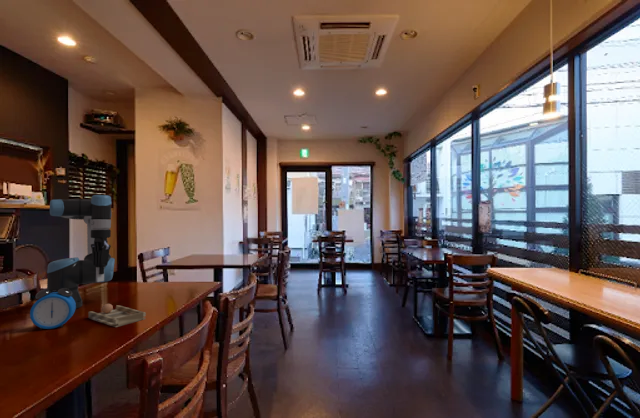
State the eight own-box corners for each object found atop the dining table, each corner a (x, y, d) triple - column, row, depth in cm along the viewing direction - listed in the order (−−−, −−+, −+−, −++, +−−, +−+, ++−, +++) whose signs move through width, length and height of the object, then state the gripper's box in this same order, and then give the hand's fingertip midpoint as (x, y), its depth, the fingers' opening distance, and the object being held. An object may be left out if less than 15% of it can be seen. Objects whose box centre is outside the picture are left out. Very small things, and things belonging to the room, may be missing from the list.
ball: (100, 313, 140) (100, 304, 140) (109, 311, 144) (110, 302, 144) (104, 314, 138) (104, 305, 138) (114, 312, 142) (114, 303, 142)
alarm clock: (28, 332, 121) (29, 292, 121) (35, 327, 126) (36, 288, 127) (71, 327, 126) (72, 288, 127) (75, 322, 132) (76, 285, 132)
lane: (88, 318, 137) (88, 311, 138) (118, 311, 148) (118, 304, 148) (115, 327, 126) (115, 319, 126) (145, 319, 136) (145, 311, 136)
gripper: (84, 229, 146) (83, 281, 145) (98, 229, 139) (98, 284, 138) (102, 228, 152) (101, 278, 151) (117, 229, 145) (116, 281, 145)
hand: (99, 281), depth 145 cm, fingers closed
